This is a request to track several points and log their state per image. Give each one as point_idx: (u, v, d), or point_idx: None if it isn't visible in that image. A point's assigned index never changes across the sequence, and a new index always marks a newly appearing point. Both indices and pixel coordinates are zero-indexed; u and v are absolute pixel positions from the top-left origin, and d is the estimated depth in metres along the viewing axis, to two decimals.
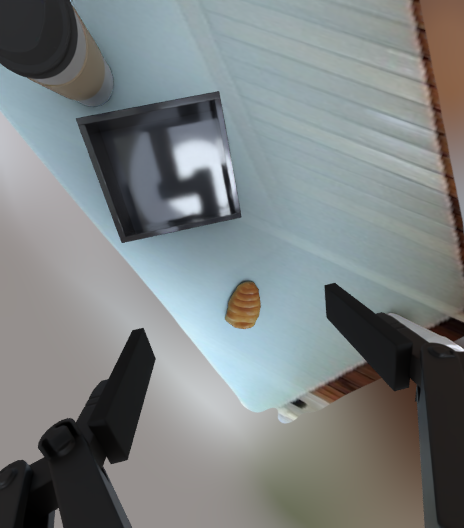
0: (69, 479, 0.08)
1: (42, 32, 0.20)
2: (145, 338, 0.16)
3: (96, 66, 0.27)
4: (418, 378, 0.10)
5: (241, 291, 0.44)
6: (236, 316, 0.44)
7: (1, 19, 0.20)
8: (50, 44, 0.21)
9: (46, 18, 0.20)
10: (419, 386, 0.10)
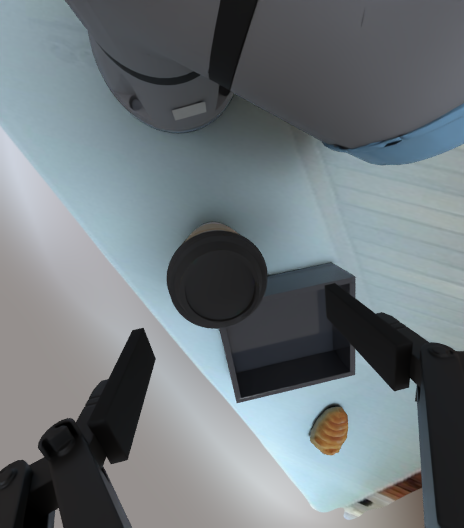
0: (69, 479, 0.08)
1: (250, 311, 0.20)
2: (145, 338, 0.16)
3: None
4: (418, 378, 0.10)
5: (332, 421, 0.43)
6: (326, 444, 0.44)
7: (209, 299, 0.19)
8: None
9: (256, 301, 0.19)
10: (419, 386, 0.10)
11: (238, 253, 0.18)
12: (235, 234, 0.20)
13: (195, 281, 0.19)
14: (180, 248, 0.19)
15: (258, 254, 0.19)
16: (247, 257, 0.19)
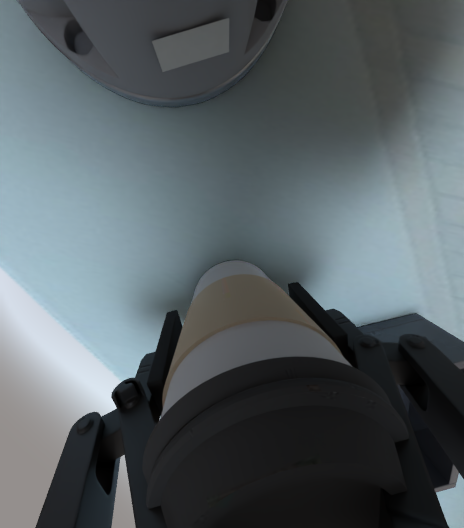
0: (133, 429, 0.09)
1: None
2: (179, 319, 0.17)
3: None
4: None
5: None
6: None
7: None
8: None
9: None
10: None
11: (367, 459, 0.06)
12: (332, 366, 0.07)
13: None
14: (176, 412, 0.07)
15: (400, 424, 0.07)
16: (387, 460, 0.06)
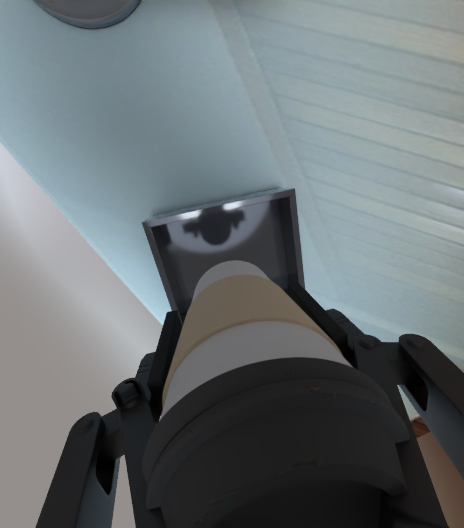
0: (133, 429, 0.09)
1: None
2: (179, 319, 0.17)
3: None
4: None
5: None
6: None
7: None
8: None
9: None
10: None
11: (367, 461, 0.05)
12: (332, 367, 0.07)
13: None
14: (176, 413, 0.07)
15: (400, 424, 0.07)
16: (386, 461, 0.06)
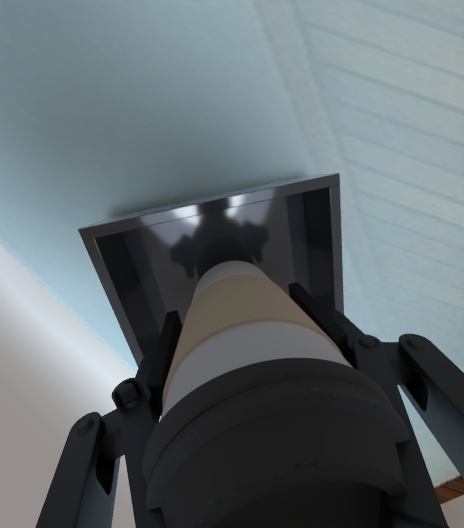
0: (133, 429, 0.09)
1: None
2: (179, 319, 0.17)
3: None
4: None
5: None
6: None
7: None
8: None
9: None
10: None
11: (367, 461, 0.06)
12: (332, 367, 0.07)
13: None
14: (176, 413, 0.07)
15: (400, 425, 0.07)
16: (387, 461, 0.06)
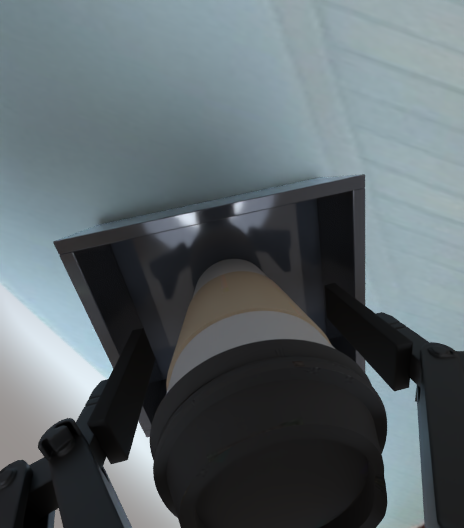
0: (69, 479, 0.08)
1: None
2: (145, 338, 0.16)
3: None
4: (418, 378, 0.10)
5: None
6: None
7: (256, 512, 0.08)
8: None
9: (375, 517, 0.08)
10: (419, 386, 0.10)
11: (342, 422, 0.07)
12: (316, 347, 0.08)
13: (221, 485, 0.07)
14: (180, 387, 0.08)
15: (375, 398, 0.08)
16: (360, 424, 0.07)
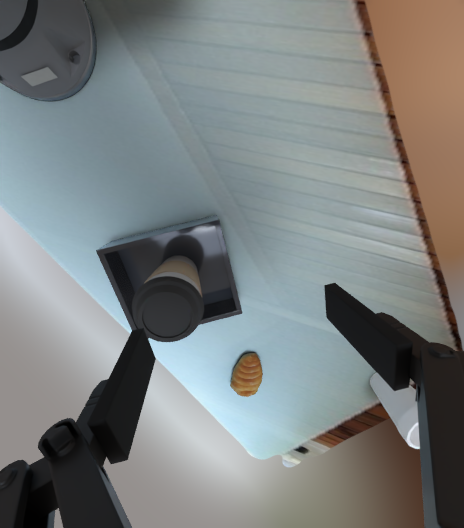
0: (69, 479, 0.08)
1: (188, 330, 0.28)
2: (145, 338, 0.16)
3: None
4: (418, 378, 0.10)
5: (244, 364, 0.48)
6: (240, 386, 0.49)
7: (160, 323, 0.28)
8: None
9: (192, 323, 0.28)
10: (419, 386, 0.10)
11: (175, 293, 0.27)
12: (176, 278, 0.28)
13: (149, 312, 0.28)
14: (139, 289, 0.28)
15: (192, 291, 0.28)
16: (182, 294, 0.27)
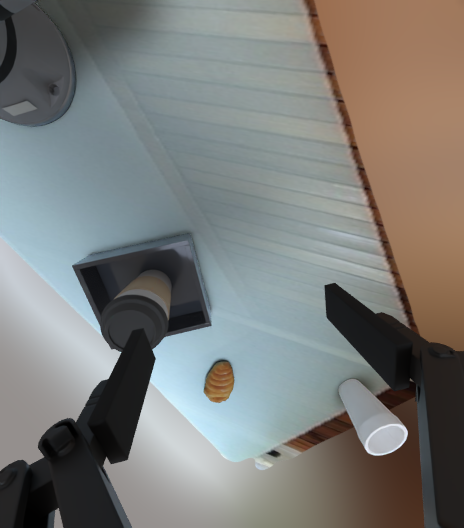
0: (69, 479, 0.08)
1: (151, 345, 0.31)
2: (145, 338, 0.16)
3: None
4: (418, 378, 0.10)
5: (216, 372, 0.51)
6: (212, 393, 0.51)
7: (126, 337, 0.31)
8: (153, 343, 0.32)
9: (155, 338, 0.31)
10: (419, 386, 0.10)
11: (139, 310, 0.30)
12: (141, 296, 0.31)
13: (115, 327, 0.30)
14: (107, 306, 0.31)
15: (156, 309, 0.31)
16: (146, 312, 0.30)
